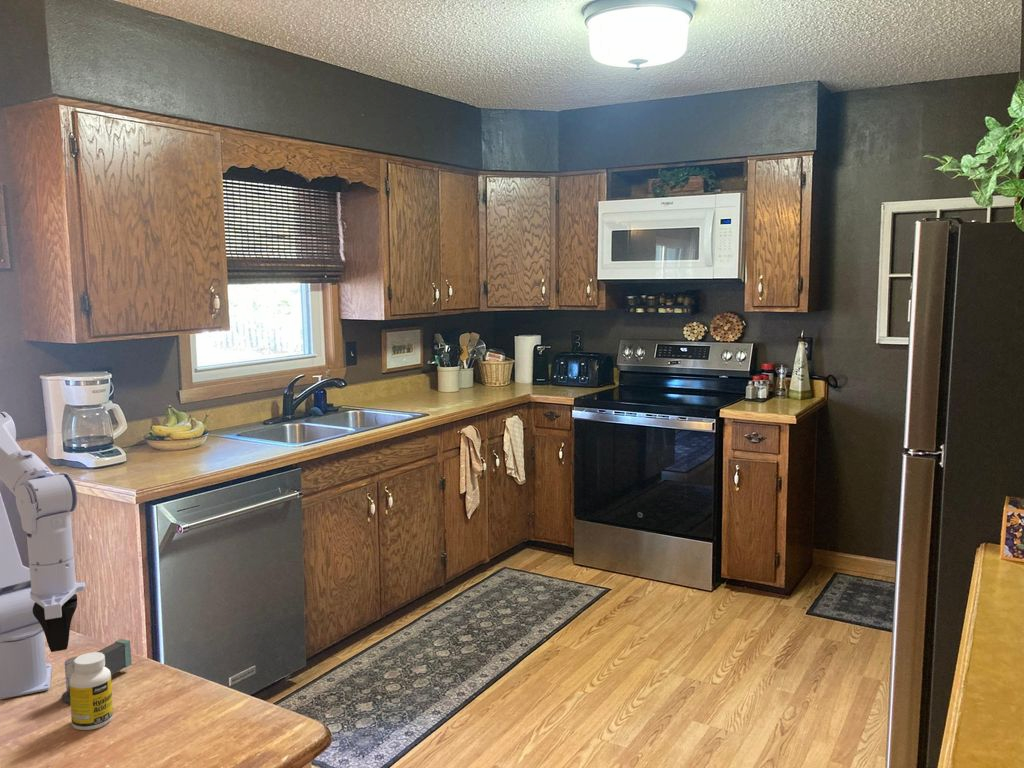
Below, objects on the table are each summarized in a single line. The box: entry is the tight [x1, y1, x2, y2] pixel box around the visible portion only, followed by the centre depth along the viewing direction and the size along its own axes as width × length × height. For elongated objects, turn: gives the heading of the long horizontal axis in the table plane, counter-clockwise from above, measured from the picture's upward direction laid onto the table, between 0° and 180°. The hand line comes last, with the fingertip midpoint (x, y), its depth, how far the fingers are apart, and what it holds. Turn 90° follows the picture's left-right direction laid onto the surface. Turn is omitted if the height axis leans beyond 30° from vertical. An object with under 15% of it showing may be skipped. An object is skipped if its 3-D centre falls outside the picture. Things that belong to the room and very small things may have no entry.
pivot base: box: [61, 690, 71, 705], centre depth 130 cm, size 4×4×1 cm
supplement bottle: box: [70, 651, 114, 731], centre depth 122 cm, size 5×5×10 cm
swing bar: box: [64, 638, 133, 696], centre depth 133 cm, size 11×3×5 cm, turn 160°
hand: (59, 649), depth 123 cm, fingers closed
